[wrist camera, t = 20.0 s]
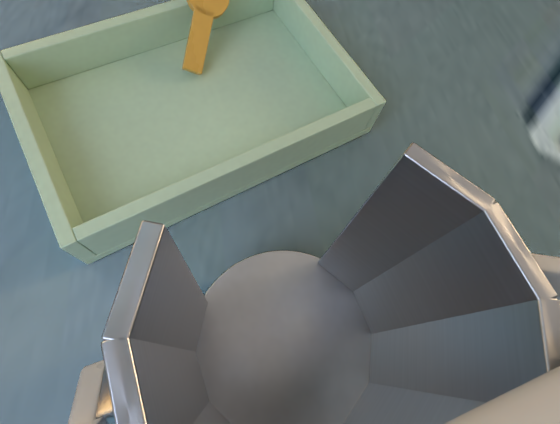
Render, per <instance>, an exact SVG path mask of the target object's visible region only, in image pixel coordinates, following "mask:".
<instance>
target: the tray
mask: <svg viewBox="0 0 560 424" xmlns="http://www.w3.org/2000/svg"><path fill="white" fill-rule="evenodd" d="M192 16H193V11H192V10H191V9H190V7H189V5H188V3H187V1H186V0H172V1H168V2H165V3H161V4H158V5H154V6H151V7H148V8H144V9H141V10H137V11H134V12H130V13H127V14H124V15H120V16H117V17H113V18H110V19H106V20H103V21H100V22H96V23H93V24H89V25H86V26H82V27H79V28H76V29H72V30H69V31H65V32H62V33H58V34H55V35H52V36H48V37H45V38H41V39H38V40H34V41H31V42H28V43H24V44H21V45H17V46H14V47H10V48H7V49H4V50H1V52H0V93H1V95H2V98H3V100H4V103H5V106H6V108H7V111H8V113H9V116H10V119H11V121H12V124H13V126H14V129H15V132H16V134H17V137H18V140H19V142H20V145H21V147H22V150H23V153H24V155H25V158H26V160H27V163H28V166H29V168H30V171H31V173H32V176H33V179H34V181H35V184H36V186H37V189H38V192H39V194H40V197H41V199H42V202H43V205H44V207H45V210H46V212H47V215H48V218H49V220H50V223H51V225H52V228H53V231H54V233H55V236H56V238H57V241H58V244H59V246H60V248H61V249H63V250H64V251H66V252H68V253H69V254H71V255H73V256H74V257H76V258H78V259H79V260H81V261H83V262H84V263H86V264H90V263H92V262H95V261H97V260H99V259H101V258H103V257H105V256H107V255H109V254H112V253H114V252H116V251H118V250H120V249H122V248H124V247H126V246H129V245H131V244H133V243H134V242H135V239H136V236H137V233H138V230H139V227H140V224H141V222H142V221H143V220H146V221H152V222H157V223H162V224H164V225H165V226H166V228H167V227H169V226H171V225H173V224H175V223H177V222H179V221H182V220H184V219H186V218H188V217H190V216H192V215H194V214H196V213H198V212H201V211H203V210H205V209H207V208H209V207H211V206H213V205H215V204H218V203H220V202H222V201H224V200H226V199H228V198H230V197H232V196H235V195H237V194H239V193H241V192H243V191H245V190H247V189H249V188H251V187H254V186H256V185H258V184H260V183H262V182H264V181H266V180H268V179H271V178H273V177H275V176H277V175H279V174H281V173H283V172H285V171H288V170H290V169H292V168H294V167H296V166H298V165H300V164H302V163H304V162H307V161H309V160H311V159H313V158H315V157H317V156H319V155H321V154H324V153H326V152H328V151H330V150H332V149H334V148H336V147H338V146H341V145H343V144H345V143H347V142H349V141H351V140H353V139H355V138H357V137H360V136H362V135H364V134H366V133H368V132H370V130H371V128H372V126H373V125H374V123H375V121H376V119H377V117H378V116H379V114H380V112H381V110H382V108H383V107H384V105H385V103H386V100H385V99H384V98H383V97H382V95H381V94H380V93H379V92H378V91H377V89H376V88H375V87H374V86H373V84H372V83H371V82H370V81H369V79H368V78H367V77H366V76H365V74H364V73H363V72H362V71H361V69H360V68H359V67H358V66H357V64H356V63H355V62H354V61H353V59H352V58H351V57H350V56H349V54H348V53H347V52H346V51H345V50H344V48H343V47H342V46H341V45H340V43H339V42H338V41H337V40H336V38H335V37H334V36H333V35H332V33H331V32H330V31H329V30H328V28H327V27H326V26H325V25H324V23H323V22H322V21H321V20H320V18H319V17H318V16H317V15H316V13H315V12H314V11H313V10H312V8H311V7H310V6H309V5H308V4H307V2H306V1H305V0H229V5H228V7H227V9H226V11H225V12H224V13H223V15H221V16H220V17H219V18H217V19H213V23H212V28H211V33H210V38H209V42H208V47H207V52H206V57H205V61H204V66H203V71H202V74H201V75H197V74H194V73H191V72H188V71H185V70H183V69H182V65H183V60H184V55H185V50H186V45H187V40H188V35H189V30H190V25H191V21H192Z"/></svg>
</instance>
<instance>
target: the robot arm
mask: <svg viewBox="0 0 560 424" xmlns="http://www.w3.org/2000/svg"><path fill="white" fill-rule="evenodd" d="M531 254H532V253H531ZM532 256H533V257H534V259H535V260H536V262H537V264H538V265H539V267H540V268H541V270H542V271H543V273H544V274H545V276H546V278H547V279H548V281H549V282H550V284H551V285H552V287H553V289H554V290H555V292H556V293H557V297H556V298H557V299H559V301H560V258H559V257H553V256H546V255H539V254H532ZM68 424H115V419H114V413H113V408H112V403H111V397H110V392H109V386H108V381H107V375H106V370H105V365H104V360H102V361H99V362H96V363H93V364H91V365H88V366H85V367H84V368H83V370H82V371H81V373H80V377H79V381H78V385H77V389H76V393H75V397H74V401H73V405H72V409H71V413H70V417H69V421H68ZM444 424H560V366H559V367H556V368H554V369H552V370H550V371H548V372H546V373H544V374H542V375H540V376H538V377H536V378H534V379H532V380H530V381H528V382H526V383H524V384H522V385H520V386H518V387H516V388H514V389H512V390H510V391H508V392H506V393H504V394H502V395H500V396H498V397H496V398H494V399H492V400H490V401H488V402H486V403H484V404H482V405H480V406H478V407H476V408H474V409H472V410H470V411H468V412H466V413H464V414H462V415H460V416H458V417H456V418H454V419H452V420H450V421H448V422H446V423H444Z"/></svg>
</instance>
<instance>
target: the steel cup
mask: <svg viewBox="0 0 560 424" xmlns="http://www.w3.org/2000/svg"><path fill="white" fill-rule="evenodd" d="M556 297H557V293H556V292H555V290H554V289H553V287H552V285H551V284H550V282H549V281H548V279H547V278H546V276H545V274H544V273H543V271H542V270H541V268H540V267H539V265H538V264H537V262H536V260H535V259H534V257H533V256H532V254H531V253H530V251H529V249H528V248H527V246H526V245H525V243H524V242H523V240H522V238H521V237H520V235H519V234H518V232H517V231H516V229H515V227H514V226H513V224H512V223H511V221H510V220H509V218H508V216H507V215H506V213H505V212H504V210H503V209H502V207H501V205H500V204H499V203H498V202H495V199H494V198H493V197H492V196H490V195H489V194H487V193H486V192H485V191H483V190H482V189H480V188H479V187H477V186H476V185H474V184H473V183H472V182H470V181H469V180H467V179H466V178H464V177H463V176H462V175H460V174H459V173H457V172H456V171H454V170H453V169H452V168H450V167H449V166H447V165H446V164H444V163H443V162H441V161H440V160H439V159H437V158H436V157H434V156H433V155H431V154H430V153H429V152H427V151H426V150H424V149H423V148H421V147H420V146H419V145H417V144H416V143H411V144H410V146H409V147H408V148H407V149H406V151H405V152H404V153H403V154H402V156H401V157H400V158H399V159H398V161H397V162H396V163H395V165H394V166H393V167H392V168H391V170H390V171H389V172H388V173H387V175H386V176H385V177H384V179H383V180H382V181H381V182H380V184H379V185H378V186H377V187H376V189H375V190H374V191H373V193H372V194H371V195H370V196H369V198H368V199H367V200H366V202H365V203H364V204H363V205H362V207H361V208H360V209H359V210H358V212H357V213H356V214H355V216H354V217H353V218H352V219H351V221H350V222H349V223H348V224H347V226H346V227H345V228H344V230H343V231H342V232H341V233H340V235H339V236H338V237H337V238H336V240H335V241H334V242H333V244H332V245H331V246H330V247H329V249H328V250H327V251H326V252H325V254H324V255H323V256H322V258H318V257H315V256H313V255H310V254H306V253H302V252H297V251H289V250H277V251H269V252H264V253H260V254H256V255H253V256H251V257H248V258H246V259H243V260H242V261H240V262H238V263H236V264H235V265H233V266H232V267H230V268H229V269H228V270H226V271H225V272H224V273H223V274H222V275H221V276H220V277H219V278H218V279H216V280H215V282H214V283H213V284H212V285H211V287H210V288H209V289H208V290H207V292H206V294H205V295H203V293H202V291H201V289H200V287H199V286H198V284H197V282H196V280H195V278H194V277H193V275H192V273H191V271H190V269H189V267H188V266H187V264H186V262H185V260H184V258H183V257H182V255H181V253H180V251H179V249H178V248H177V246H176V244H175V242H174V240H173V239H172V237H171V235H170V233H169V231H168V229H167V228H166V226H165V225H164V224H162V223H157V222H152V221H146V220H143V221H142V222H141V224H140V227H139V230H138V233H137V236H136V239H135V242H134V245H133V248H132V250H131V253H130V256H129V259H128V262H127V265H126V268H125V271H124V274H123V276H122V279H121V282H120V285H119V288H118V291H117V294H116V297H115V299H114V302H113V305H112V308H111V311H110V314H109V317H108V320H107V323H106V325H105V328H104V331H103V334H102V339H103V340H104V341H103V342H102V343H101V348H102V354H103V359H104V365H105V370H106V375H107V381H108V386H109V392H110V397H111V403H112V408H113V413H114V419H115V424H444V423H446V422H448V421H450V420H452V419H454V418H456V417H458V416H460V415H462V414H464V413H466V412H468V411H470V410H472V409H474V408H476V407H478V406H480V405H482V404H484V403H486V402H488V401H490V400H492V399H494V398H496V397H498V396H500V395H502V394H504V393H506V392H508V391H510V390H512V389H514V388H516V387H518V386H520V385H522V384H524V383H526V382H528V381H530V380H532V379H534V378H536V377H538V376H540V375H542V374H544V373H546V372H548V371H550V370H552V369H554V368H556V367H559V366H560V301H559V299H557V298H556Z"/></svg>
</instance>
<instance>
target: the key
mask: <svg viewBox="0 0 560 424" xmlns="http://www.w3.org/2000/svg"><path fill="white" fill-rule="evenodd" d="M186 1H187V3H188V5H189V7H190V9H191V10H192V11H193V16H192V21H191V25H190V30H189V35H188V40H187V45H186V50H185V55H184V60H183V65H182V69H183V70H185V71H188V72H191V73H194V74H197V75H201V74H202V71H203V66H204V61H205V57H206V52H207V47H208V42H209V38H210V33H211V28H212V23H213V19H217V18H219V17H220V16H221V15H223V13H224V12H225V11H226V9H227V7H228V5H229V0H186Z"/></svg>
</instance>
